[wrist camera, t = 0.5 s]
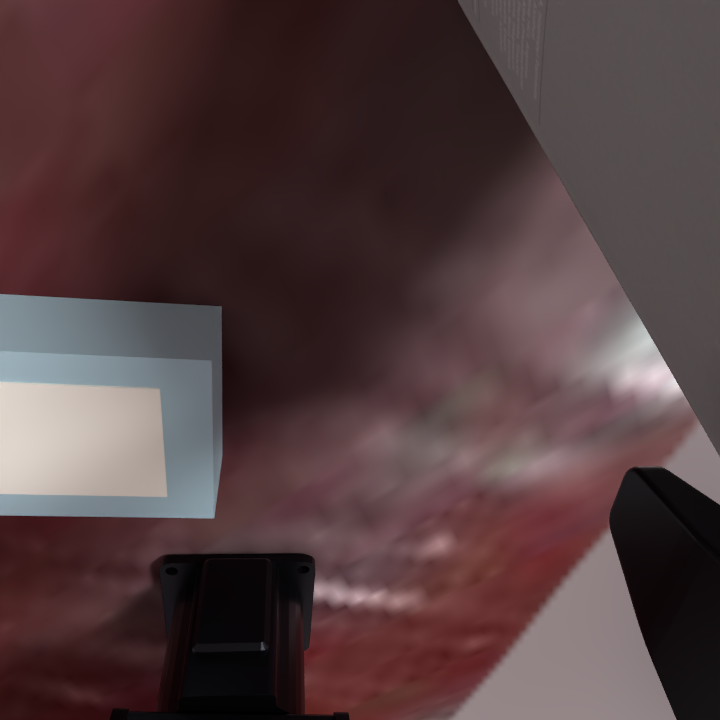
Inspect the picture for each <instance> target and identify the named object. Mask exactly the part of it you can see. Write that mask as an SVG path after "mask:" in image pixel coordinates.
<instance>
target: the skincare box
mask: <svg viewBox="0 0 720 720" xmlns="http://www.w3.org/2000/svg"><path fill="white" fill-rule="evenodd" d="M457 1H458V2H459V4H460V6H461V8H462V10H463V11H464V13H465V15H466V17H467V18H468V20H469V22H470V24H471V25H472V27H473V29H474V31H475V32H476V34H477V36H478V38H479V39H480V41H481V43H482V44H483V46H484V48H485V50H486V51H487V53H488V55H489V56H490V58H491V60H492V61H493V63H494V65H495V67H496V68H497V70H498V72H499V74H500V75H501V77H502V79H503V80H504V82H505V84H506V86H507V87H508V89H509V91H510V93H511V94H512V96H513V98H514V100H515V101H516V103H517V105H518V107H519V108H520V110H521V112H522V114H523V115H524V117H525V119H526V121H527V122H528V124H529V126H530V128H531V129H532V131H533V133H534V135H535V136H536V138H537V140H538V142H539V143H540V145H541V147H542V149H543V150H544V152H545V154H546V156H547V157H548V159H549V161H550V162H551V164H552V166H553V168H554V169H555V171H556V173H557V175H558V176H559V178H560V180H561V182H562V183H563V185H564V187H565V189H566V190H567V192H568V194H569V196H570V197H571V199H572V201H573V203H574V204H575V206H576V208H577V210H578V211H579V213H580V215H581V217H582V218H583V220H584V222H585V223H586V225H587V227H588V229H589V230H590V232H591V234H592V236H593V237H594V239H595V241H596V242H597V244H598V246H599V248H600V249H601V251H602V253H603V255H604V256H605V258H606V260H607V262H608V263H609V265H610V267H611V268H612V270H613V272H614V274H615V276H616V277H617V279H618V281H619V283H620V284H621V286H622V288H623V290H624V291H625V293H626V295H627V297H628V298H629V300H630V302H631V304H632V305H633V307H634V309H635V310H636V312H637V314H638V315H639V317H640V319H641V321H642V322H643V324H644V326H645V327H646V329H647V331H648V333H649V334H650V336H651V338H652V339H653V341H654V343H655V345H656V346H657V348H658V350H659V352H660V353H661V355H662V357H663V359H664V360H665V362H666V364H667V366H668V367H669V369H670V371H671V373H672V374H673V376H674V378H675V379H676V381H677V383H678V385H679V386H680V388H681V390H682V392H683V393H684V395H685V397H686V399H687V400H688V402H689V404H690V406H691V407H692V409H693V411H694V413H695V414H696V416H697V418H698V419H699V421H700V423H701V425H702V426H703V428H704V430H705V432H706V433H707V435H708V437H709V438H710V440H711V442H712V444H713V446H714V447H715V449H716V451H717V452H718V454H719V456H720V0H457Z"/></svg>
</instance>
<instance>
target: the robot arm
mask: <svg viewBox="0 0 720 720" xmlns="http://www.w3.org/2000/svg"><path fill="white" fill-rule="evenodd" d="M609 523H610V530H611V534H612V537H613V540H614V544H615V547H616V550H617V554H618V557H619V560H620V563H621V567H622V570H623V573H624V576H625V580H626V584H627V587H628V590H629V594H630V597H631V600H632V604H633V607H634V610H635V614H636V617H637V620H638V623H639V626H640V629H641V632H642V635H643V638H644V641H645V644H646V646H647V649H648V652H649V654H650V656H651V659H652V662H653V664H654V666H655V669H656V671H657V674H658V676H659V678H660V681H661V683H662V686H663V688H664V691H665V693H666V695H667V698H668V700H669V703H670V705H671V707H672V710H673V712H674V715H675V717H676V719H677V720H720V505H719V504H718V503H716V502H714V501H713V500H712V499H710V498H709V497H707V496H706V495H704V494H703V493H701V492H700V491H698V490H697V489H695V488H693V487H692V486H691V485H689V484H688V483H686V482H685V481H683V480H682V479H680V478H679V477H677V476H676V475H674V474H673V473H671V472H670V471H668V470H666V469H665V468H663V467H658V466H644V467H632V468H630V469H629V470H628V471H627V472H626V473H625V475H624V478H623V480H622V483H621V485H620V488H619V491H618V493H617V496H616V498H615V501H614V503H613V506H612V508H611V512H610V518H609ZM159 572H160V580H161V589H162V597H163V605H164V614H165V622H166V630H167V639H168V642H167V648H166V654H165V660H164V666H163V671H162V677H161V683H160V689H159V695H158V701H157V706H156V712H139V711H129V709H125V708H113V711H112V714H111V718H110V720H349V714H348V712H334V714H333V715H314V714H305V689H304V651H305V650H307V649H308V648H309V643H310V631H311V618H312V605H313V592H314V579H315V560H314V558H313V557H312V556H309V555H189V556H167V557H165V558H164V559H163V560H162V561H161V566H160V571H159Z"/></svg>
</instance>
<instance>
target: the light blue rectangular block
mask: <svg viewBox="0 0 720 720" xmlns="http://www.w3.org/2000/svg"><path fill="white" fill-rule="evenodd" d="M221 462H222V306H206V305H188V304H170V303H151V302H133V301H115V300H97V299H78V298H60V297H42V296H24V295H5V294H0V515H10V516H82V517H154V518H214V516H215V508H216V500H217V493H218V485H219V477H220V470H221Z"/></svg>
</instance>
